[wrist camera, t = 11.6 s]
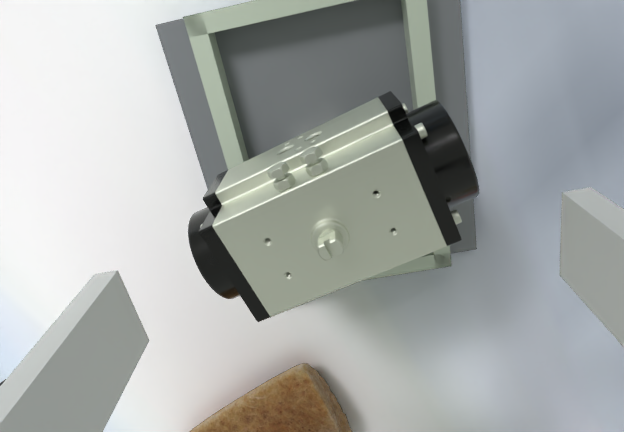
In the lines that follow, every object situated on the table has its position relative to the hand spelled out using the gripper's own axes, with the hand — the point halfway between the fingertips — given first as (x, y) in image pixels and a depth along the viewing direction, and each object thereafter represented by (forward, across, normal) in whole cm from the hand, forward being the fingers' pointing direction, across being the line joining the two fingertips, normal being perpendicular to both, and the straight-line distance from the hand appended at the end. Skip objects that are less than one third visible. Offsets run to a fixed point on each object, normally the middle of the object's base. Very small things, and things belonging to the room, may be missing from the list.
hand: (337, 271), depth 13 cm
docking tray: (+16, 0, 0) cm, 16 cm away
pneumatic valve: (+15, 0, 0) cm, 15 cm away
